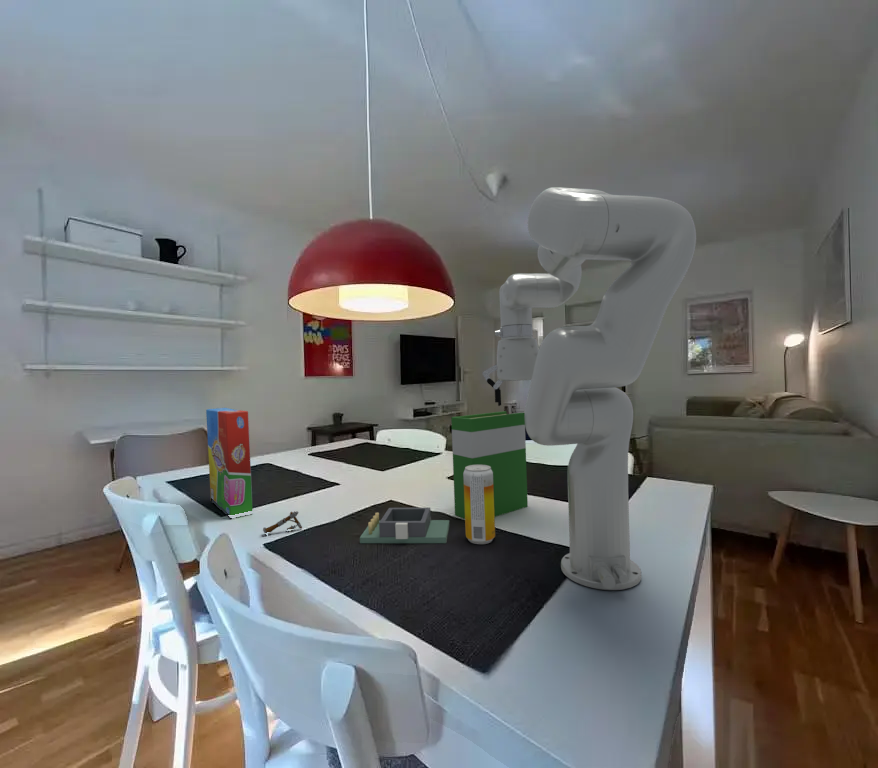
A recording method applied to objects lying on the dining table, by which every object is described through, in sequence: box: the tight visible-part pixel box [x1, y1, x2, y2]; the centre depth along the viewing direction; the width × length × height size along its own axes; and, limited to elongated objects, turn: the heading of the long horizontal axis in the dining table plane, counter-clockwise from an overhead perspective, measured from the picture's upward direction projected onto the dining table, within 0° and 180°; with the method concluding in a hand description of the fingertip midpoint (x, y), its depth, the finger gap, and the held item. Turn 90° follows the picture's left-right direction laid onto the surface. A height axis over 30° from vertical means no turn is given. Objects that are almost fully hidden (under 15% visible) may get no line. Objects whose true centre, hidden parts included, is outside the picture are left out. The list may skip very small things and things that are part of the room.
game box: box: [205, 407, 253, 515], centre depth 113 cm, size 21×6×27 cm, turn 42°
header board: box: [359, 507, 450, 544], centre depth 90 cm, size 11×18×4 cm, turn 85°
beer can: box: [463, 465, 496, 545], centre depth 86 cm, size 6×6×15 cm
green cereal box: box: [450, 410, 529, 520], centre depth 103 cm, size 18×7×24 cm, turn 125°
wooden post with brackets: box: [262, 510, 303, 534], centre depth 94 cm, size 2×8×4 cm, turn 111°
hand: (519, 404), depth 100 cm, fingers open, 9 cm apart
